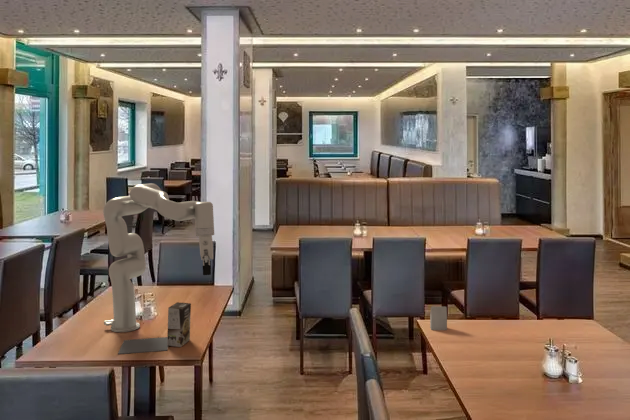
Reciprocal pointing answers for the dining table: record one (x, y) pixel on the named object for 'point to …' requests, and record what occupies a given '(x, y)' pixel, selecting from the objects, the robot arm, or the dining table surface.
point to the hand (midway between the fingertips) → (207, 272)
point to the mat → (144, 345)
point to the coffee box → (178, 324)
